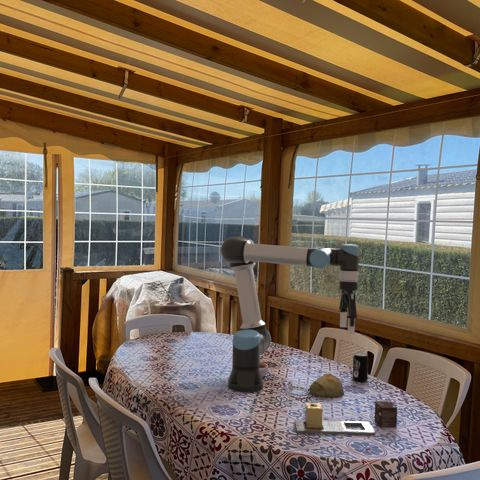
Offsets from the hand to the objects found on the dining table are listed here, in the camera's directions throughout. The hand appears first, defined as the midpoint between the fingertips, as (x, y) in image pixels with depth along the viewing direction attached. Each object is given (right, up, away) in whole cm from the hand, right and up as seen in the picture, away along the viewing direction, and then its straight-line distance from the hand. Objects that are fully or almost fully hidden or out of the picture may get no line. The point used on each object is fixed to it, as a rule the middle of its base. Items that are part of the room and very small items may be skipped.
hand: (346, 330), depth 213 cm
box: (+6, -27, -37) cm, 46 cm away
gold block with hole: (-21, -26, -42) cm, 53 cm away
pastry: (-10, -26, -5) cm, 28 cm away
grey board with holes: (-14, -26, -42) cm, 51 cm away
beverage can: (+9, -25, +14) cm, 30 cm away
